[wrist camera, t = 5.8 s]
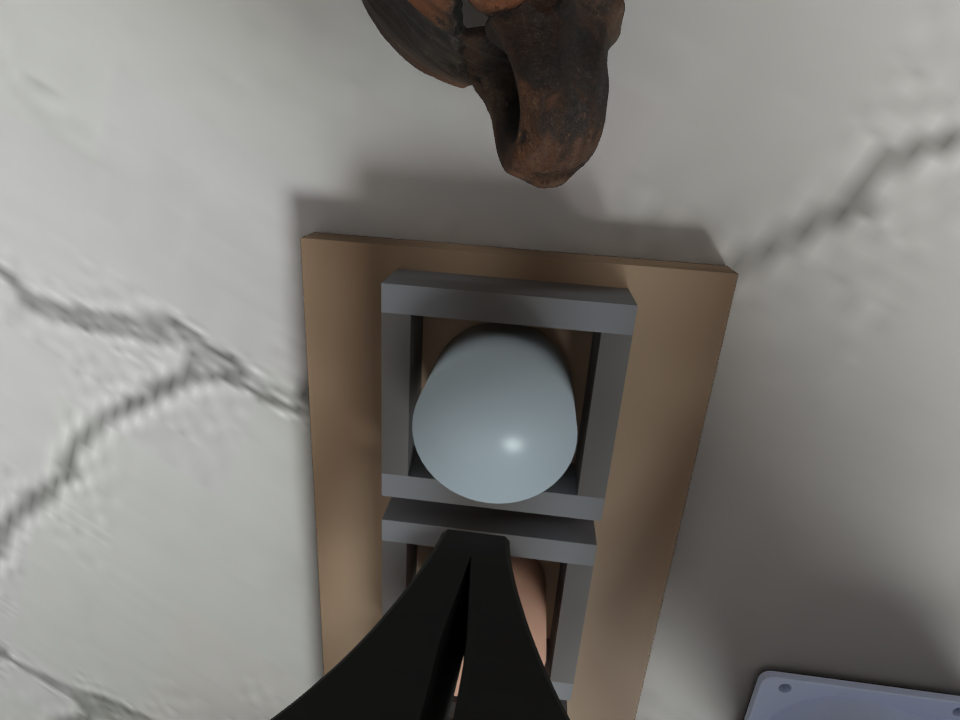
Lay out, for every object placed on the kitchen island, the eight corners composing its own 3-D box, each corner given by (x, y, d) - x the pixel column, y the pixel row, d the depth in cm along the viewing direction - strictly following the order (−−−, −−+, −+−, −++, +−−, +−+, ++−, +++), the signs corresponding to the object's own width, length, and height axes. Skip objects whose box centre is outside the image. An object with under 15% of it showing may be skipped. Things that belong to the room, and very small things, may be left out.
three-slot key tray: (727, 265, 19) (760, 290, 16) (611, 782, 28) (618, 858, 25) (314, 232, 20) (273, 249, 17) (337, 741, 29) (314, 808, 27)
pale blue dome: (580, 328, 18) (587, 365, 16) (563, 457, 20) (566, 512, 17) (434, 315, 19) (413, 348, 16) (430, 442, 21) (410, 494, 18)
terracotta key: (552, 541, 22) (553, 606, 19) (539, 636, 23) (539, 709, 20) (427, 526, 22) (409, 587, 19) (424, 621, 24) (406, 690, 21)
